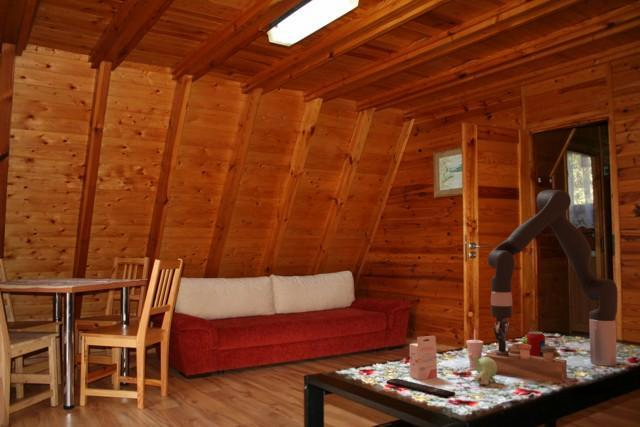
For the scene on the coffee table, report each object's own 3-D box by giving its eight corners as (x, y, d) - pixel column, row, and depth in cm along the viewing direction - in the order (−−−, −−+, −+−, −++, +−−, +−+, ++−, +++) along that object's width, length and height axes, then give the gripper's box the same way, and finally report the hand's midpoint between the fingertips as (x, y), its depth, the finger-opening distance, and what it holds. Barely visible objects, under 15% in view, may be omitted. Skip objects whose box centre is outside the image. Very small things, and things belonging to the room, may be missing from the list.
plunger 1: (498, 368, 201) (498, 349, 201) (510, 369, 198) (510, 350, 198) (494, 370, 197) (494, 351, 197) (507, 372, 194) (506, 352, 195)
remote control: (445, 400, 164) (445, 395, 164) (385, 384, 181) (385, 380, 181) (455, 396, 167) (455, 392, 167) (395, 382, 185) (395, 378, 185)
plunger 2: (543, 365, 192) (542, 346, 192) (556, 367, 189) (556, 347, 190) (540, 368, 188) (540, 348, 188) (554, 369, 186) (553, 349, 186)
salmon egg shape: (520, 362, 196) (519, 343, 197) (532, 364, 194) (532, 345, 194) (517, 365, 193) (516, 345, 193) (529, 366, 190) (529, 346, 190)
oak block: (493, 367, 204) (492, 351, 205) (566, 376, 190) (566, 359, 190) (484, 372, 196) (484, 355, 197) (561, 383, 182) (561, 365, 182)
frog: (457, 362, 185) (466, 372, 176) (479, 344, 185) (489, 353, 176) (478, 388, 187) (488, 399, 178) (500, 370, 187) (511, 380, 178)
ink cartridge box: (428, 374, 194) (427, 333, 195) (437, 377, 189) (436, 335, 190) (409, 377, 190) (408, 335, 191) (417, 380, 185) (417, 337, 186)
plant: (560, 352, 235) (560, 326, 235) (554, 360, 218) (553, 332, 219) (513, 347, 245) (512, 322, 246) (503, 355, 228) (503, 328, 229)
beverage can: (547, 365, 208) (546, 334, 208) (529, 364, 209) (528, 333, 210) (543, 361, 214) (543, 331, 215) (525, 360, 216) (525, 330, 216)
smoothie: (484, 365, 207) (484, 329, 208) (482, 369, 201) (481, 331, 202) (467, 364, 210) (467, 328, 210) (465, 367, 204) (464, 330, 205)
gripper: (506, 306, 191) (507, 355, 190) (516, 303, 202) (517, 349, 201) (485, 305, 195) (486, 353, 195) (496, 301, 206) (497, 347, 205)
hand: (502, 351), depth 198 cm, fingers closed
